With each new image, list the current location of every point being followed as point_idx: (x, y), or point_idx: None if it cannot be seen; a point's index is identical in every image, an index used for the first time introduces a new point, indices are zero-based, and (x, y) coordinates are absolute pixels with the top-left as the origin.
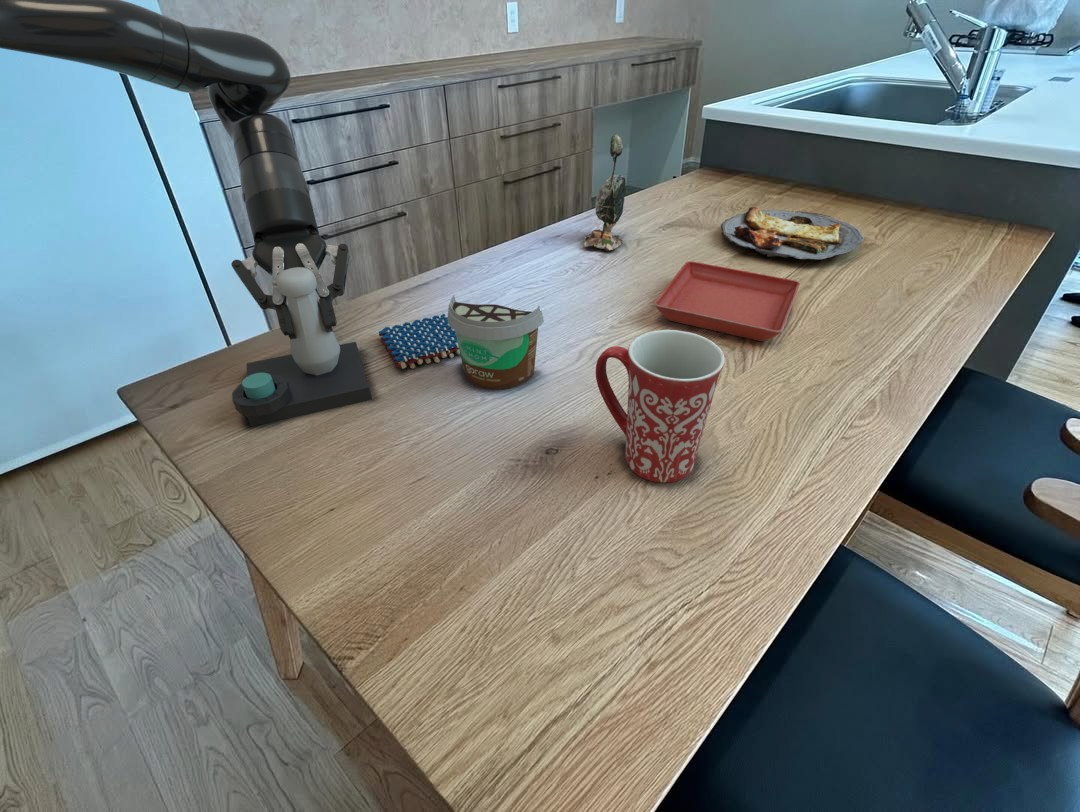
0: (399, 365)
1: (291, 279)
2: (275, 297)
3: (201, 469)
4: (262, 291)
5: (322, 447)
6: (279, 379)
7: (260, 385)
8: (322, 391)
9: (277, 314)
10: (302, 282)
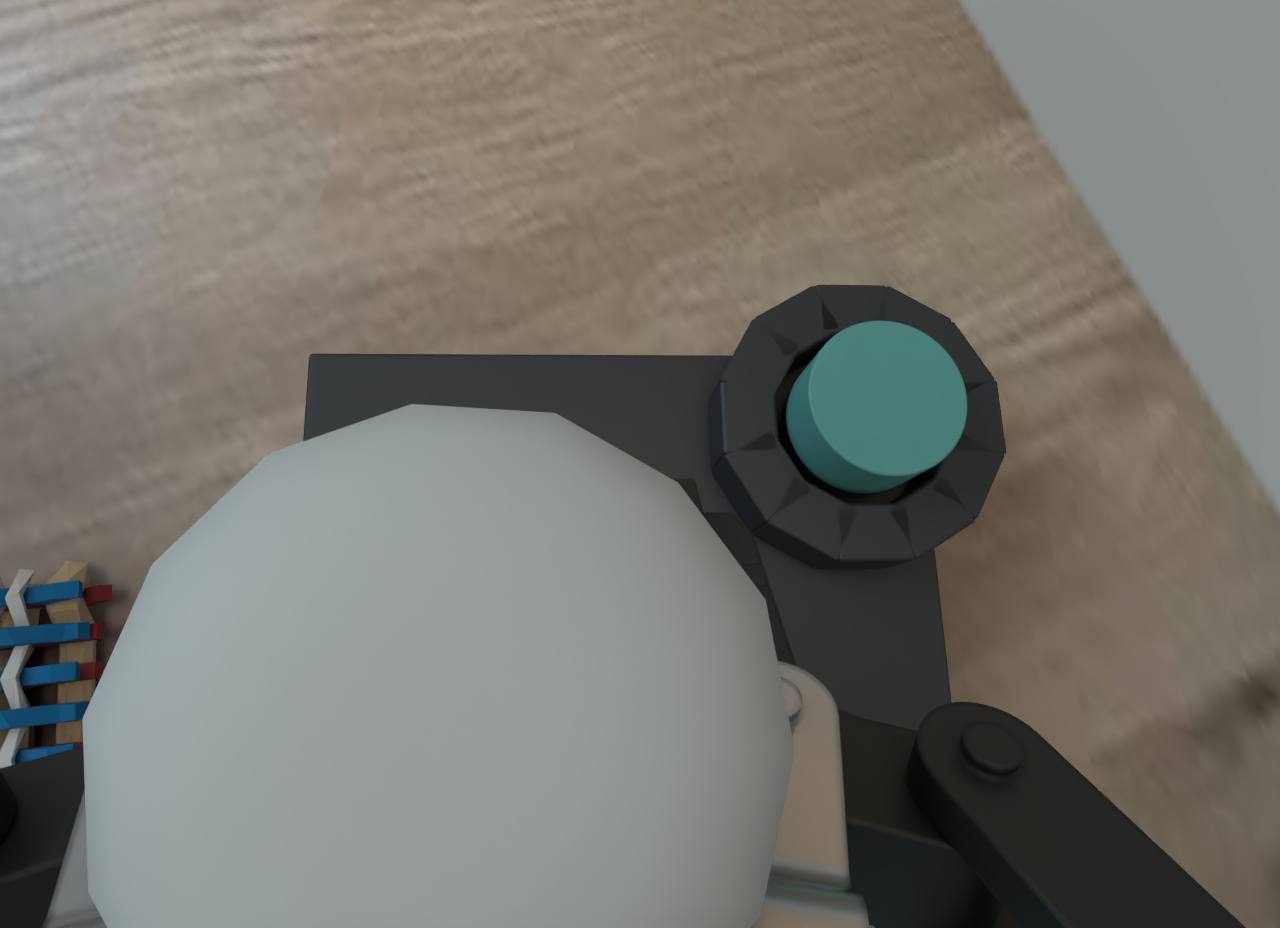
0: (90, 589)
1: (515, 446)
2: (803, 740)
3: (1036, 191)
4: (986, 829)
5: (597, 138)
6: (766, 481)
7: (863, 330)
8: (551, 408)
9: (778, 631)
10: (354, 428)
